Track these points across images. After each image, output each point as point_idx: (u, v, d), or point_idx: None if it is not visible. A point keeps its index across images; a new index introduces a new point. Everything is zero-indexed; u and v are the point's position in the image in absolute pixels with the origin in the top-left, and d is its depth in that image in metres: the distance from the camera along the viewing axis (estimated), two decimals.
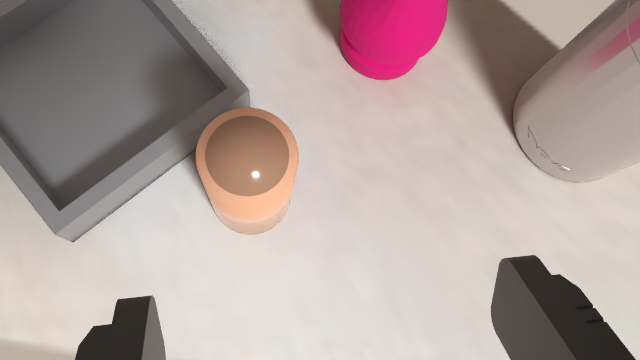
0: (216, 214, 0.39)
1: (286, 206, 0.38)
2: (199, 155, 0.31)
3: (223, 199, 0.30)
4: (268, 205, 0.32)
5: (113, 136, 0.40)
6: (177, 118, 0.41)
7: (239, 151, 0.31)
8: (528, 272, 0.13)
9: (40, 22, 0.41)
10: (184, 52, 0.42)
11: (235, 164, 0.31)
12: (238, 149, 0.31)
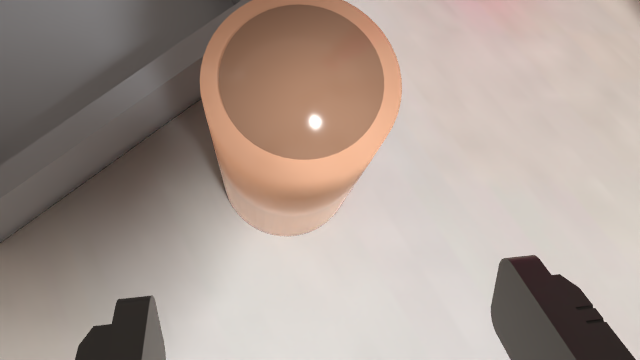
0: (231, 203, 0.24)
1: None
2: (207, 78, 0.15)
3: (255, 165, 0.15)
4: (340, 180, 0.16)
5: (65, 75, 0.25)
6: (169, 49, 0.25)
7: (286, 72, 0.16)
8: (528, 272, 0.13)
9: None
10: None
11: (279, 96, 0.15)
12: (284, 67, 0.16)
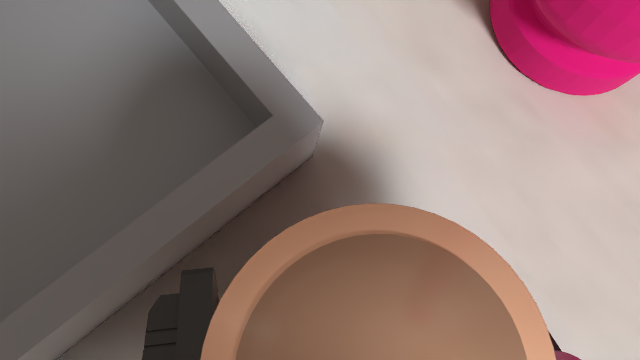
0: None
1: None
2: None
3: None
4: None
5: (9, 223, 0.17)
6: (156, 180, 0.18)
7: None
8: None
9: None
10: (173, 35, 0.19)
11: None
12: None
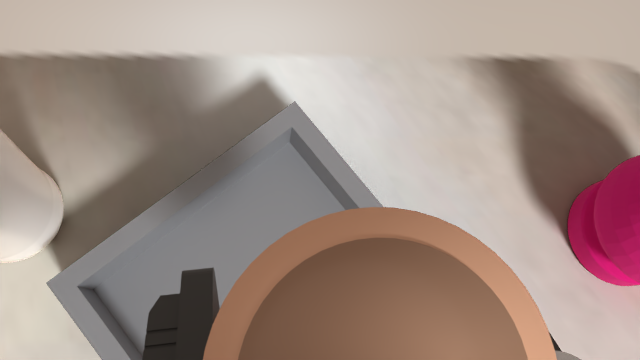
0: None
1: None
2: None
3: None
4: None
5: None
6: None
7: None
8: None
9: (195, 214, 0.32)
10: None
11: None
12: None
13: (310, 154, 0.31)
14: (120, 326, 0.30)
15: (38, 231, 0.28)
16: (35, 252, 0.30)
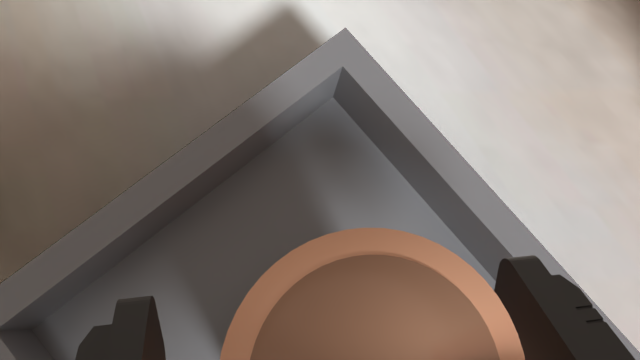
0: None
1: None
2: None
3: None
4: None
5: None
6: None
7: None
8: (528, 272, 0.13)
9: (192, 208, 0.20)
10: (475, 263, 0.21)
11: None
12: None
13: (371, 110, 0.20)
14: None
15: None
16: None
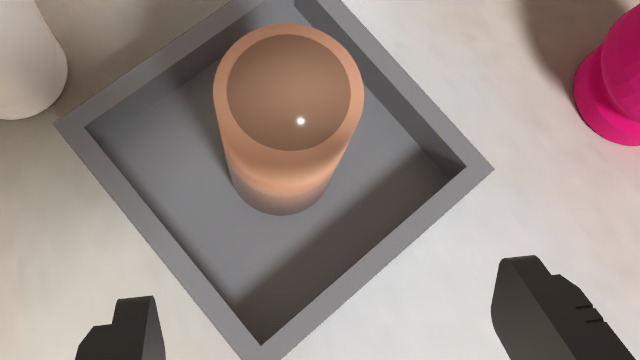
0: (235, 188, 0.29)
1: (332, 176, 0.28)
2: (218, 90, 0.21)
3: (255, 155, 0.20)
4: (319, 166, 0.22)
5: (305, 227, 0.30)
6: (385, 201, 0.31)
7: (277, 86, 0.21)
8: (528, 272, 0.13)
9: (201, 73, 0.31)
10: (386, 112, 0.32)
11: (272, 104, 0.21)
12: (276, 82, 0.21)
13: (315, 8, 0.31)
14: (127, 179, 0.30)
15: (43, 77, 0.28)
16: (40, 108, 0.30)
